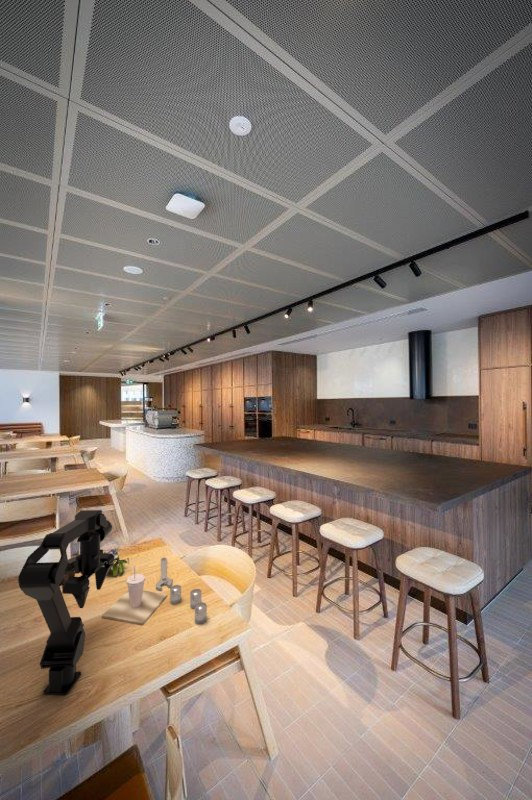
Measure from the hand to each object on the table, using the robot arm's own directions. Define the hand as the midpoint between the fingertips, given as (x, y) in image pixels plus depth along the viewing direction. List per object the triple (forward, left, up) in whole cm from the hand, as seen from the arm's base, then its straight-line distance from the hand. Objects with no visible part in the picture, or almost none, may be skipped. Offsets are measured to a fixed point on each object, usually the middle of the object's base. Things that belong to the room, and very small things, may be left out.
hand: (90, 598), depth 103 cm
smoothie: (+16, -8, -12) cm, 21 cm away
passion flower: (+39, +13, -13) cm, 43 cm away
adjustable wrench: (+38, -11, -14) cm, 42 cm away
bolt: (+26, +30, -14) cm, 42 cm away
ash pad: (+16, -8, -13) cm, 22 cm away
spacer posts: (+16, -28, -13) cm, 35 cm away
